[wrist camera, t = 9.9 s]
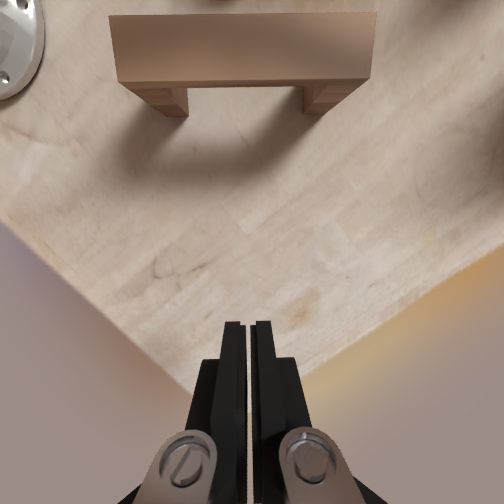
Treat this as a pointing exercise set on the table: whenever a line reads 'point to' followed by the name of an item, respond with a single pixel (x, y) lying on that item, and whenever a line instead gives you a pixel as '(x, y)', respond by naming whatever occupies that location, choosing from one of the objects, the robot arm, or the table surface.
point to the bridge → (243, 55)
